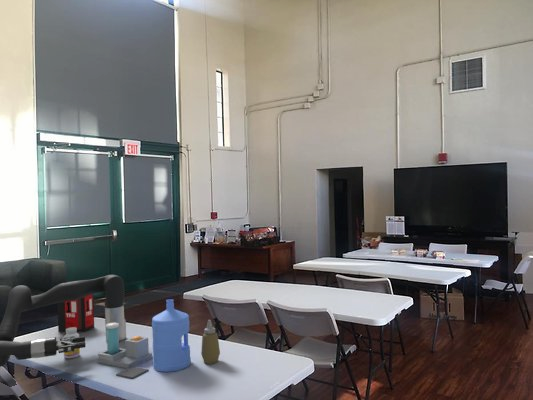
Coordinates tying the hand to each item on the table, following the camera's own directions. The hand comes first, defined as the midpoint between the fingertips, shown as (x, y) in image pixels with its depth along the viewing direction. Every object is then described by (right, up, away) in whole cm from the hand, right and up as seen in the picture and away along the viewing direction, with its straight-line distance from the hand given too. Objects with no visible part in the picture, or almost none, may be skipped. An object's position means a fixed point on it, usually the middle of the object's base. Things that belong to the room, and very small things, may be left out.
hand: (85, 341), depth 190 cm
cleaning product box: (-29, -12, +56) cm, 64 cm away
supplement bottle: (-11, -11, +12) cm, 20 cm away
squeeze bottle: (+55, -8, -2) cm, 56 cm away
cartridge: (+11, -8, +4) cm, 14 cm away
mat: (+24, -9, -11) cm, 28 cm away
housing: (+16, -10, +4) cm, 19 cm away
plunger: (+21, -5, +5) cm, 22 cm away
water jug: (+39, -9, -4) cm, 40 cm away
